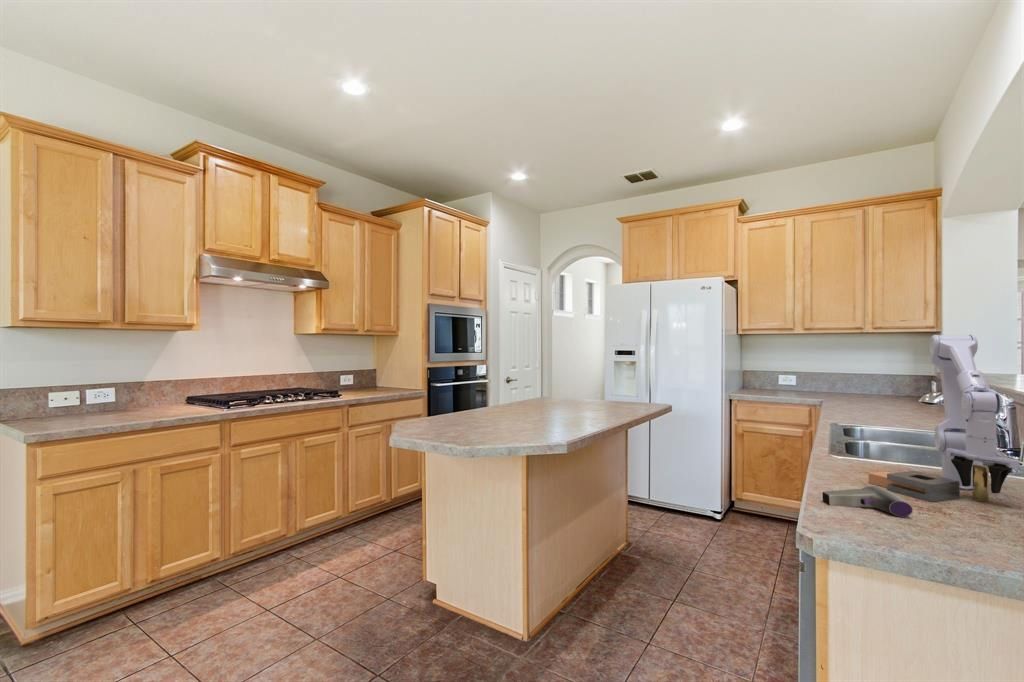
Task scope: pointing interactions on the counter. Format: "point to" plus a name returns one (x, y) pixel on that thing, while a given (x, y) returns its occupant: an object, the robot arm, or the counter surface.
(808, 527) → the counter surface
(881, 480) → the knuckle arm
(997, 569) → the counter surface
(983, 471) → the brass pin
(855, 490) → the infrared thermometer
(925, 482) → the bracket
